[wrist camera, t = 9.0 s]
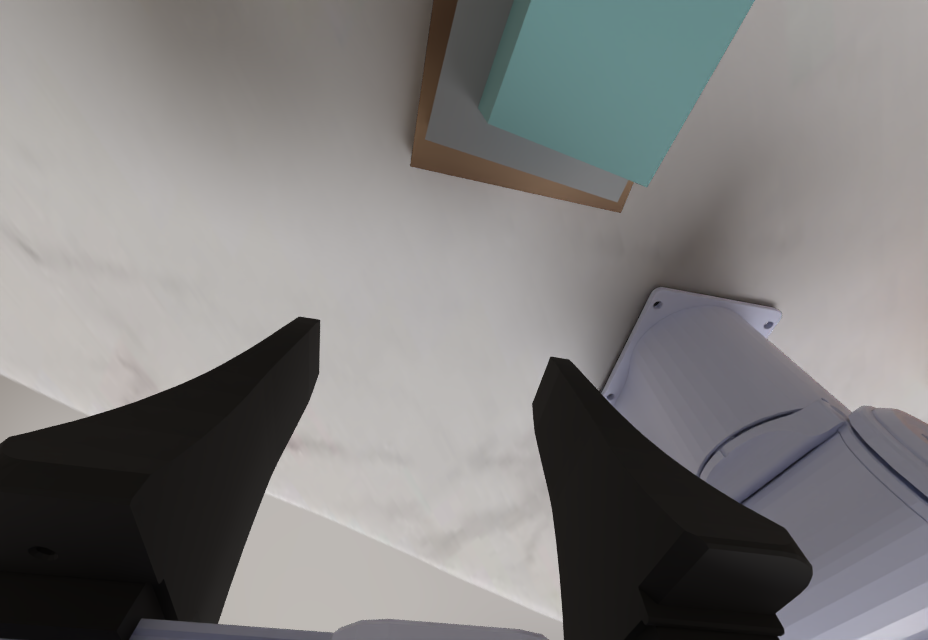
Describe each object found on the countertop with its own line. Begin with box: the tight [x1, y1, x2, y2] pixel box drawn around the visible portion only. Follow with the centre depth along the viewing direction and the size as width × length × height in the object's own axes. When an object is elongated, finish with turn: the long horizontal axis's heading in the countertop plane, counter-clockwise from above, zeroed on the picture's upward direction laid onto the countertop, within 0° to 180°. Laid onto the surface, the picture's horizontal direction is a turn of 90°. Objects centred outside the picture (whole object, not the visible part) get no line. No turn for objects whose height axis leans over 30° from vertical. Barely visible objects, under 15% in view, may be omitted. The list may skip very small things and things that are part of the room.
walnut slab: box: [410, 0, 634, 213], centre depth 17 cm, size 10×10×2 cm
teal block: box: [478, 0, 755, 187], centre depth 11 cm, size 4×4×6 cm
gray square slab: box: [425, 0, 628, 202], centre depth 15 cm, size 8×8×2 cm
